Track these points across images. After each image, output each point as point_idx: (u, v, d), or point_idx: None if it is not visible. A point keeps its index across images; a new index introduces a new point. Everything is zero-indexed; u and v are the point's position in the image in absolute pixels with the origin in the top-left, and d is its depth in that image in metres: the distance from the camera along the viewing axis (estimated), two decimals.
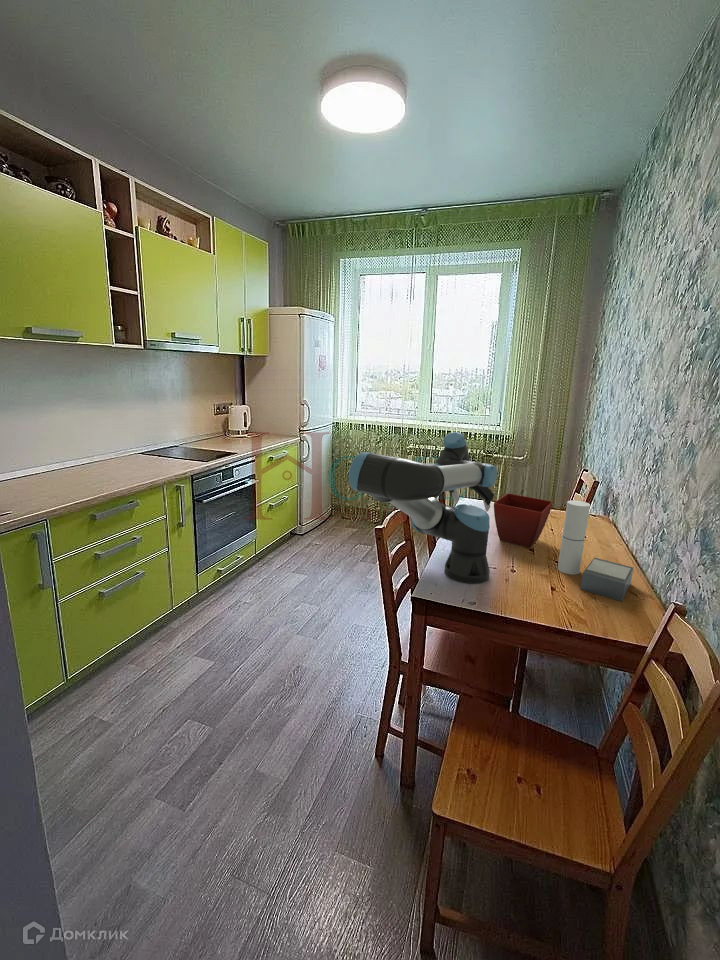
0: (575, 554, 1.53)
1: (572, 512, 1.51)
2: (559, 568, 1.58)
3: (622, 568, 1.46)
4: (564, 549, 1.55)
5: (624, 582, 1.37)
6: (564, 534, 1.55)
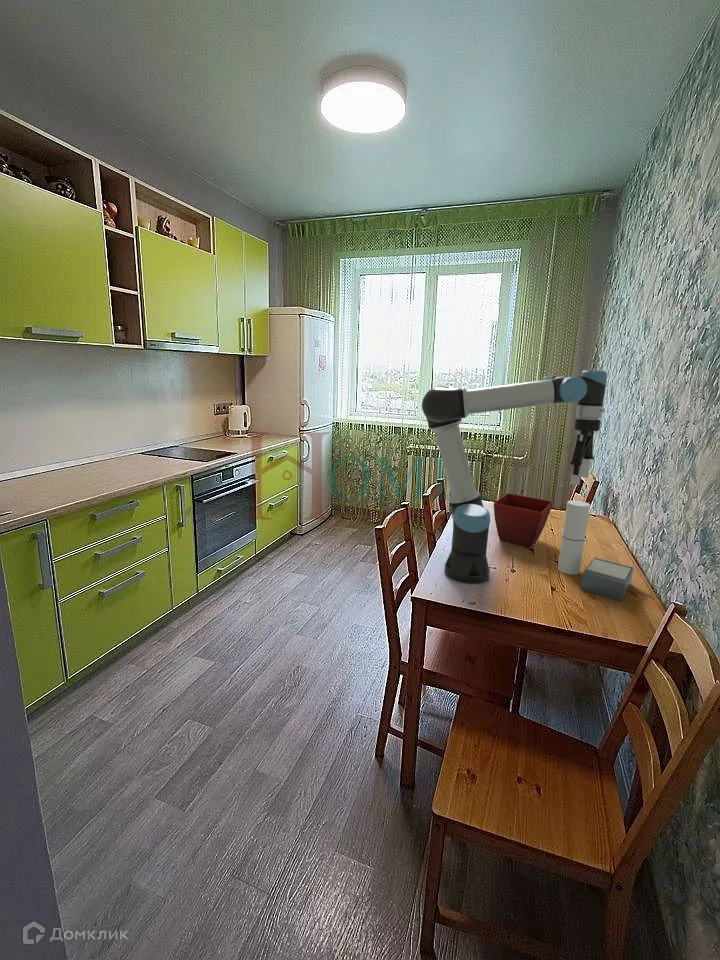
0: (575, 554, 1.53)
1: (572, 512, 1.51)
2: (559, 568, 1.58)
3: (622, 568, 1.46)
4: (564, 549, 1.55)
5: (624, 582, 1.37)
6: (564, 534, 1.55)
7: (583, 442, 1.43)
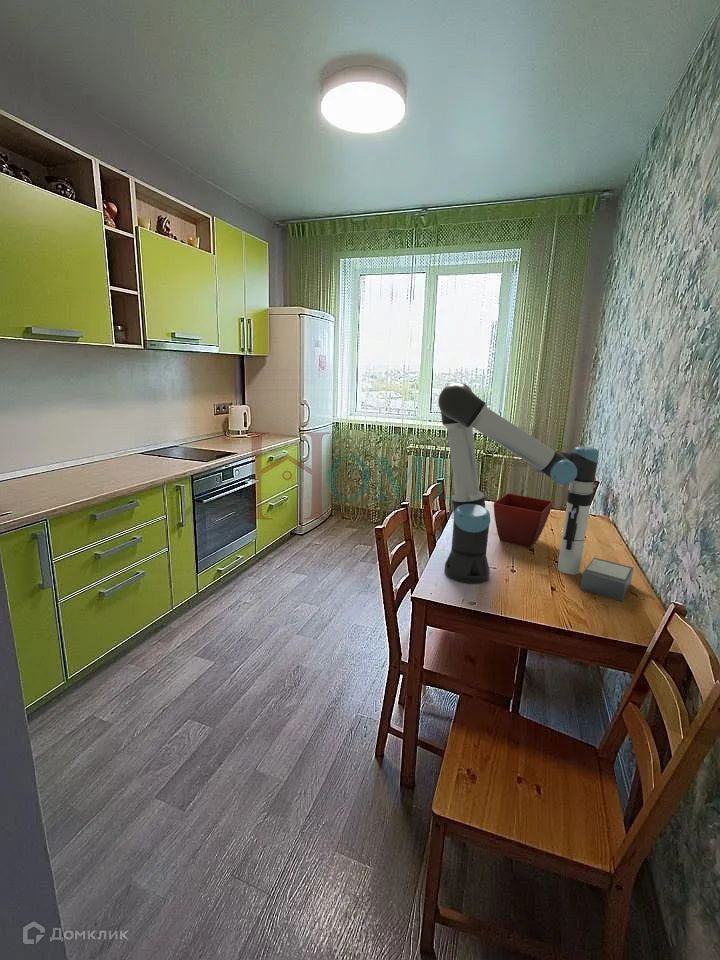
0: (575, 554, 1.53)
1: None
2: (559, 568, 1.58)
3: (622, 568, 1.46)
4: None
5: (624, 582, 1.37)
6: (564, 534, 1.55)
7: (574, 520, 1.48)
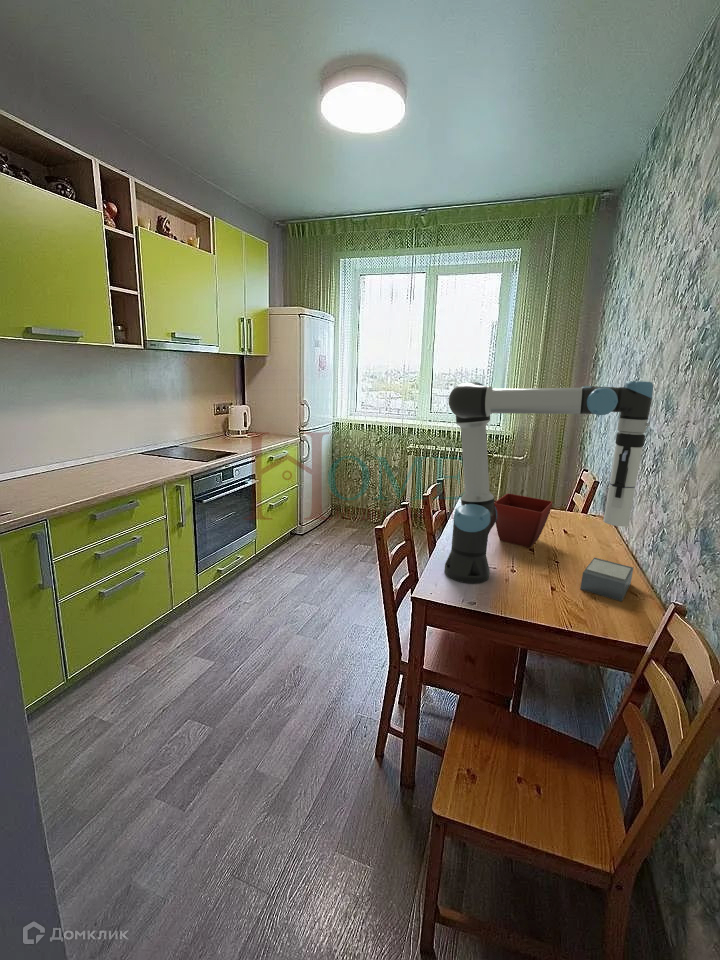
0: (626, 502, 1.37)
1: None
2: (606, 520, 1.42)
3: (622, 568, 1.46)
4: (612, 498, 1.39)
5: (624, 582, 1.37)
6: (612, 481, 1.39)
7: (626, 463, 1.32)
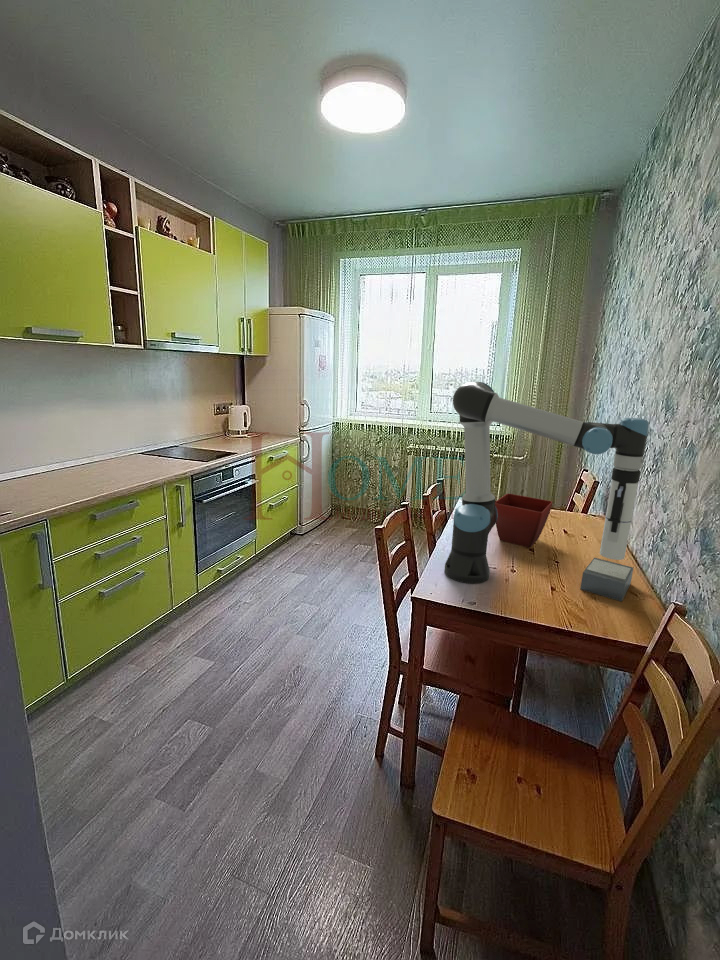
0: (621, 537, 1.39)
1: None
2: (602, 553, 1.44)
3: (622, 568, 1.46)
4: (608, 532, 1.41)
5: (624, 582, 1.37)
6: (608, 515, 1.41)
7: (621, 499, 1.34)
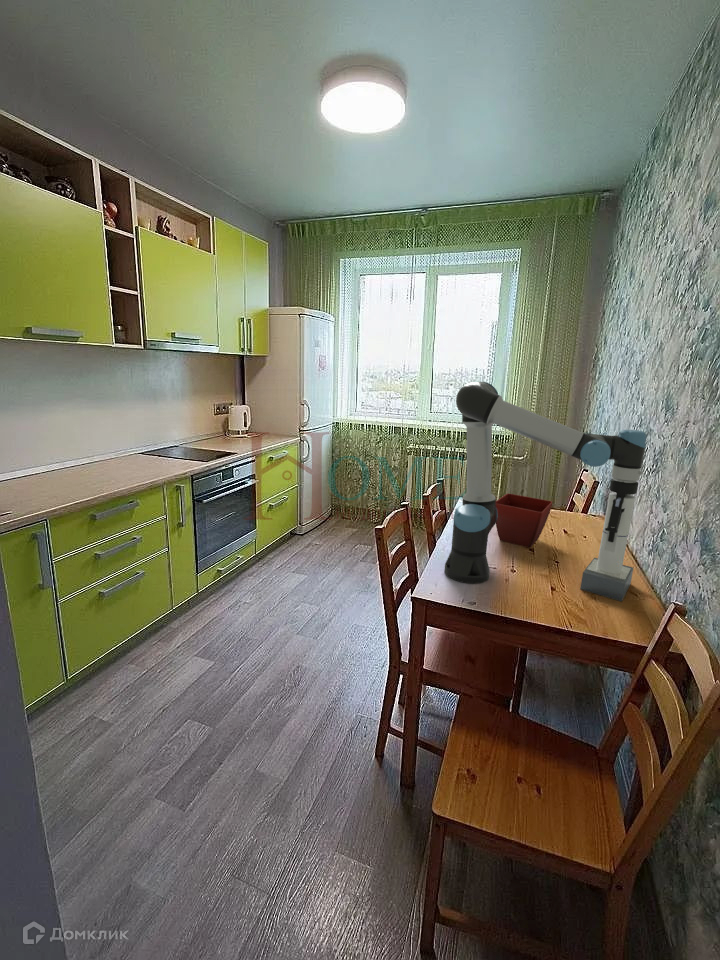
0: (618, 551, 1.40)
1: None
2: (599, 566, 1.45)
3: (622, 568, 1.46)
4: None
5: (624, 582, 1.37)
6: None
7: (619, 508, 1.34)
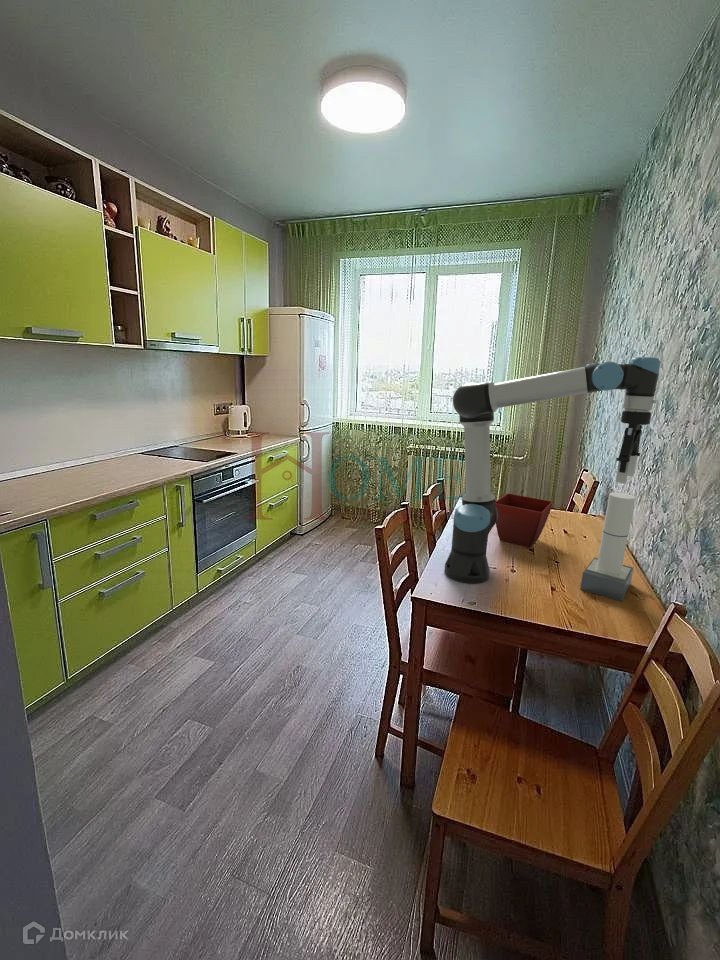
0: (618, 551, 1.40)
1: (616, 505, 1.38)
2: (599, 566, 1.45)
3: (622, 568, 1.46)
4: (605, 546, 1.42)
5: (624, 582, 1.37)
6: (605, 529, 1.42)
7: (632, 436, 1.29)
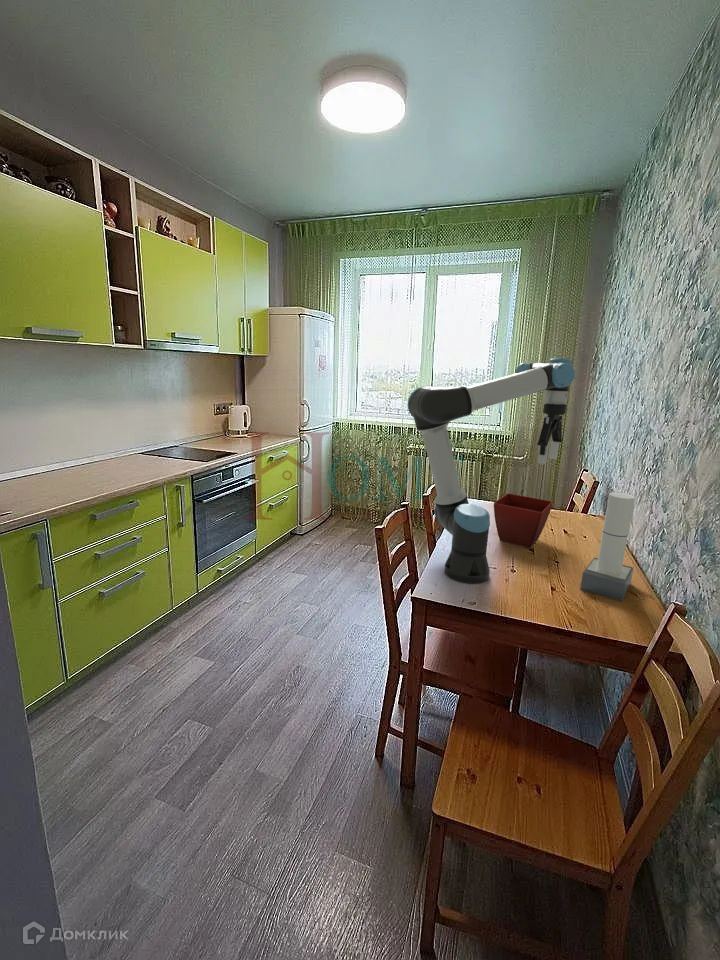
0: (618, 551, 1.40)
1: (616, 505, 1.38)
2: (599, 566, 1.45)
3: (622, 568, 1.46)
4: (605, 546, 1.42)
5: (624, 582, 1.37)
6: (605, 529, 1.42)
7: (549, 424, 1.55)
